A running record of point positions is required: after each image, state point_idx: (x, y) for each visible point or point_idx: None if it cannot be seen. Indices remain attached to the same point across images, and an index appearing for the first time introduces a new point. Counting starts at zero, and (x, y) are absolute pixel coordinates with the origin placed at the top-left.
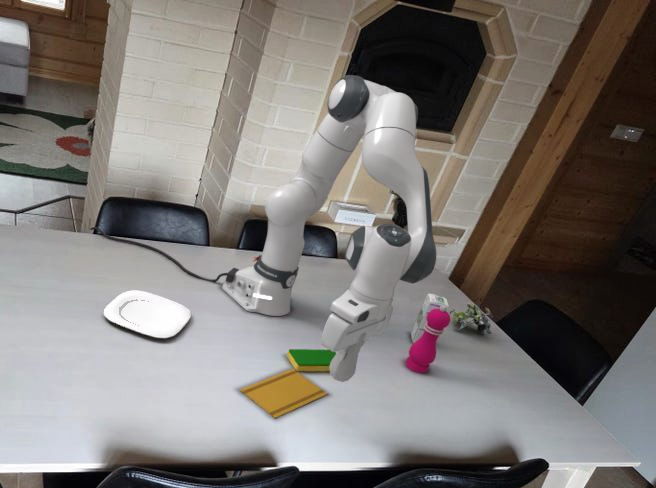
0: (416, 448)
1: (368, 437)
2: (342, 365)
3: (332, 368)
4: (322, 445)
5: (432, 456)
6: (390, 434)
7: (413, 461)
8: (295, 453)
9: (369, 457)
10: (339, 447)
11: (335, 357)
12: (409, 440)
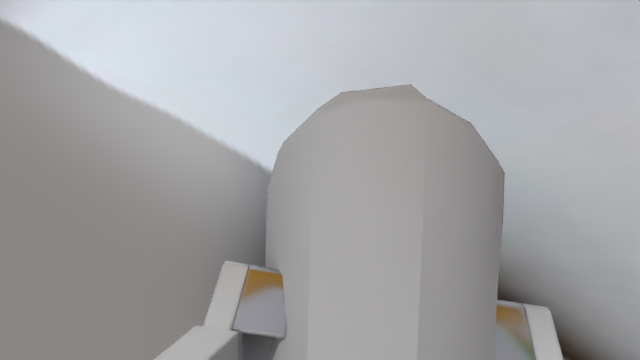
0: (539, 284)
1: None
2: None
3: (276, 163)
4: (230, 75)
5: None
6: (550, 209)
7: None
8: (77, 30)
9: None
10: (287, 122)
11: (302, 209)
12: (569, 259)
